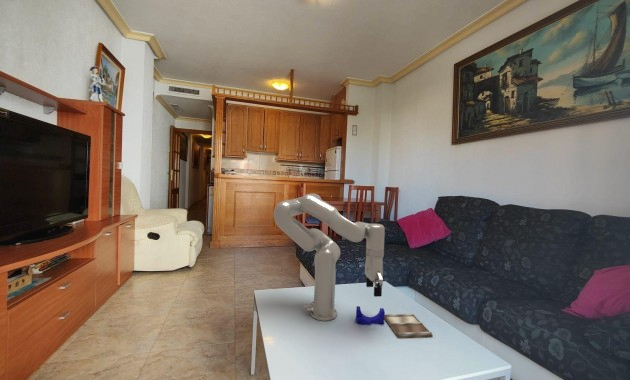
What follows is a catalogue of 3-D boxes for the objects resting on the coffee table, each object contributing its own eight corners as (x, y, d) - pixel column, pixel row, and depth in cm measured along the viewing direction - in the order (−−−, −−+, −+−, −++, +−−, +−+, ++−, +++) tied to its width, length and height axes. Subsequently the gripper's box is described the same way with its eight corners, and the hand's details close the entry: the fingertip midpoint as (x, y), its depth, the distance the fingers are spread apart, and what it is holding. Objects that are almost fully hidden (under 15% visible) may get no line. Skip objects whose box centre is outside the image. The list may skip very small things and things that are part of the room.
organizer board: (397, 338, 105) (397, 333, 105) (383, 318, 120) (383, 314, 120) (432, 337, 107) (432, 332, 107) (414, 317, 122) (414, 313, 122)
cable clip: (356, 324, 114) (357, 311, 114) (355, 319, 119) (356, 306, 118) (384, 327, 113) (385, 313, 113) (382, 321, 118) (383, 308, 118)
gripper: (360, 247, 122) (359, 283, 122) (373, 258, 105) (372, 300, 105) (376, 247, 123) (374, 283, 123) (391, 258, 106) (389, 300, 106)
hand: (373, 291), depth 114 cm, fingers open, 9 cm apart
